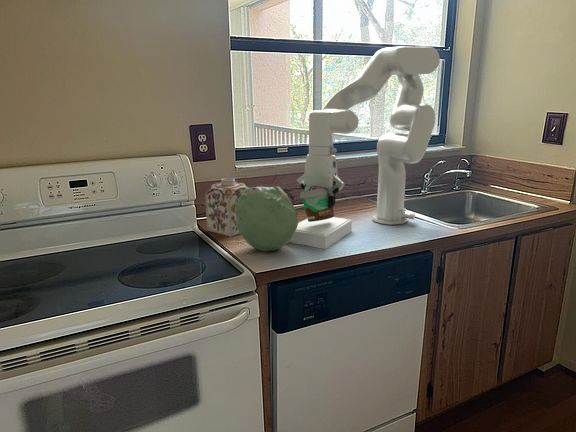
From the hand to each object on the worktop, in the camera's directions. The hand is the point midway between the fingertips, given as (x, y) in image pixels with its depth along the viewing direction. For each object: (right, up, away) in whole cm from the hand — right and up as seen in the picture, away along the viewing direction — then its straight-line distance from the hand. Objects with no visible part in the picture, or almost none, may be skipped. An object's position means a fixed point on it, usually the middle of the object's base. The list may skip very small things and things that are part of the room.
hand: (319, 205), depth 146 cm
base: (0, -10, +3) cm, 11 cm away
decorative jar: (-30, -9, +10) cm, 33 cm away
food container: (+2, -5, 0) cm, 5 cm away
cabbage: (-17, -14, -9) cm, 23 cm away
